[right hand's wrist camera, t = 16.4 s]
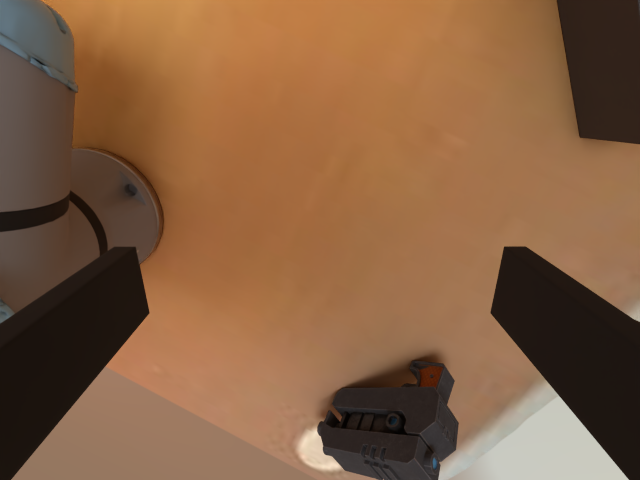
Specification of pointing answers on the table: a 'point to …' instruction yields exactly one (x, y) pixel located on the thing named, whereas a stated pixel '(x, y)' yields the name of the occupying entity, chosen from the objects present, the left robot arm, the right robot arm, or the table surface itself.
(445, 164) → the table surface
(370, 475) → the tool
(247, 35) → the table surface
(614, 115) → the bar
